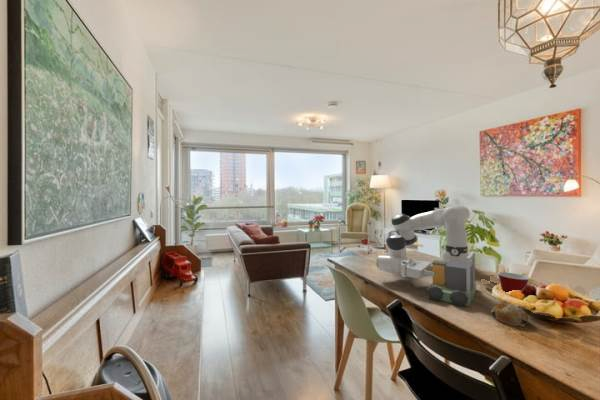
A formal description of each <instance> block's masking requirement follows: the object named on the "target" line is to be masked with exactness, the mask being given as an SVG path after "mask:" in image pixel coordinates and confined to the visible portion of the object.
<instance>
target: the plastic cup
mask: <svg viewBox="0 0 600 400" xmlns="http://www.w3.org/2000/svg"><path fill="white" fill-rule="evenodd" d="M497 275H498V277H499V282H500V287H502V288H501V290H502V289H503V291H505V292H509V291H512V290H522V289H523V288H524V287H525V286H526V287H527V285H528V282H529V280H530V279H531V277H529V276H527V275H523V274H520V273H512V272H505V271H504V272H502V271H499V272H497Z"/></svg>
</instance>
